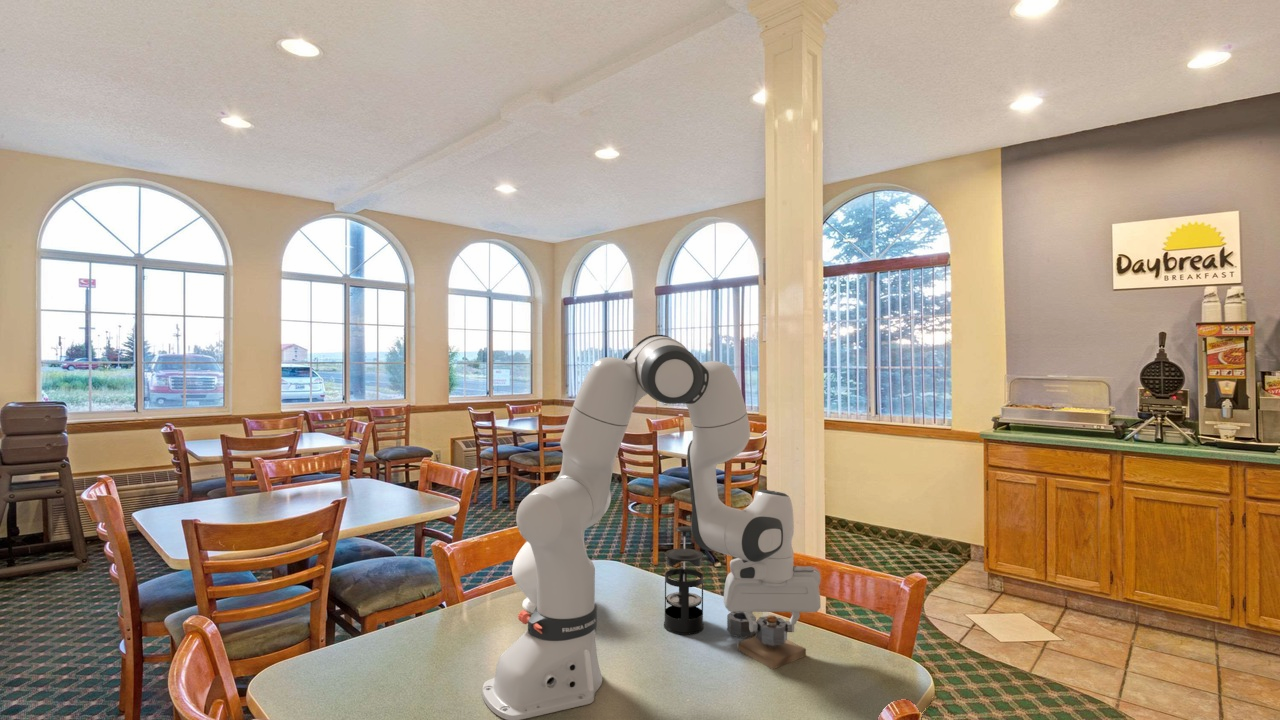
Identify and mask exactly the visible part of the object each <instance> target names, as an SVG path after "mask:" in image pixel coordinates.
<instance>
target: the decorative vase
mask: <svg viewBox="0 0 1280 720" xmlns="http://www.w3.org/2000/svg"><path fill="white" fill-rule="evenodd" d="M511 570H512V571H511V573H512V574H511V575H512V579H513V581H514V583H515V584H516V585H517V587H518V588H519V590H520V591H521V592H522V593H523V594H524V595H525V597H526V598H524V600H522V605H521V606H522V608H523V610H525V611H527V612H528V613H531V614H533V612H534V610H535V608H536V606H537V570H536V563H535V558H534V554H533V551H532V548H531V545H530V543H529V542H527V541H525V542H524V544H523V545H522V547H520V549H519V550H518V552H517V554H516V556H515V557H514V560H513V563H512V568H511Z"/></svg>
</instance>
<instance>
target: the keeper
mask: <svg viewBox="0 0 1280 720" xmlns="http://www.w3.org/2000/svg"><path fill="white" fill-rule="evenodd" d="M776 617H777V616H775V615H771V614H770V615H767V625H770V626H776V622H777V618H778V617H777V618H776ZM737 650H738V651H739V652H741V653H743V654H744V655H746V656H748V657H750V658H752V659H754V660H756V661H757V662H759V663H761V664H763V665H764V666H767V667H768V668H770V669H772V670H774V669H777V668H779V667H781V666H784V665H787V664H789V663H792V662H794V661H796V660H799V659H801V658H803V657H807V649H806V648H805V647H803V646H801V645H799V644H797V643H795V642H793V641H791V640H789V639H787V640H786V642H785V643H784V644H781V645H774V646H773V645H768V644H764V643H761V642H760V641H759V640H758V639H757V638H756V635H755V636H752V637H749V638H747V639H744V640H741V641H739V642H737Z"/></svg>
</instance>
